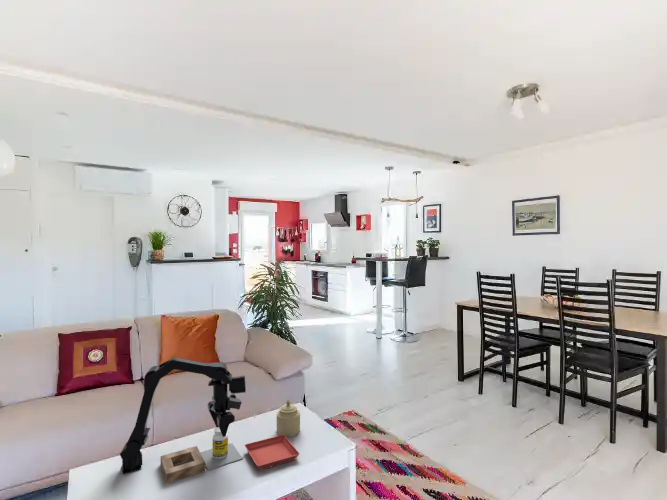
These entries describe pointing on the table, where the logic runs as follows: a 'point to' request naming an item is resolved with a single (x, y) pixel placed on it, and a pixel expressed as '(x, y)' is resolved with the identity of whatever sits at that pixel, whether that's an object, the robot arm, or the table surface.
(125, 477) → the table surface
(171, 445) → the table surface
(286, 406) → the sugar bowl
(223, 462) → the slate mat
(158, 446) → the table surface
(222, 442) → the pill bottle
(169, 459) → the holder block
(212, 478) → the table surface
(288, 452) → the plant saucer
